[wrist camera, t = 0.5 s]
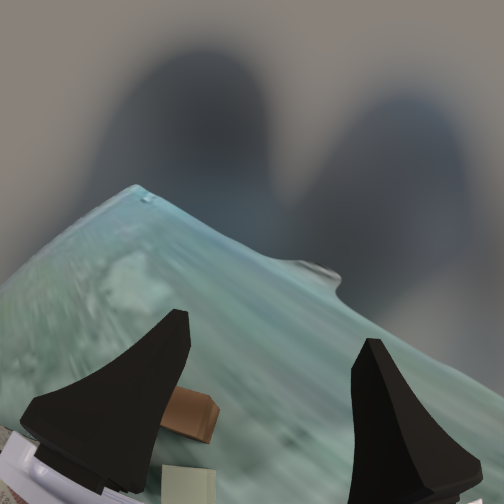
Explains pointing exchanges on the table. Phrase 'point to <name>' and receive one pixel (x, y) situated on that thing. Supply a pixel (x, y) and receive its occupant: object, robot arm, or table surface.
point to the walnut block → (190, 414)
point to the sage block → (188, 485)
